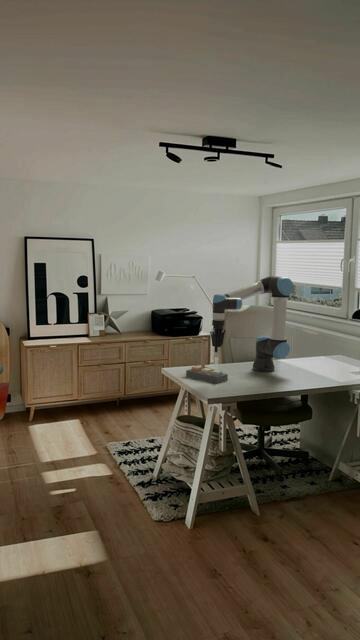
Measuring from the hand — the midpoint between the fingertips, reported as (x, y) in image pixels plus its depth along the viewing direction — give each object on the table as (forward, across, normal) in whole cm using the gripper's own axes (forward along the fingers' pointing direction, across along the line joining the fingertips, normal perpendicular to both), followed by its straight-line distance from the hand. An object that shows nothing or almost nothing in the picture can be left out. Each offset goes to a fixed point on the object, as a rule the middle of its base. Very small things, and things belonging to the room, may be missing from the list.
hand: (216, 357), depth 328 cm
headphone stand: (+15, -16, -22) cm, 31 cm away
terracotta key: (+12, 0, -16) cm, 20 cm away
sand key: (+12, 0, -8) cm, 14 cm away
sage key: (+12, 0, 0) cm, 12 cm away
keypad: (+15, 0, -8) cm, 17 cm away
